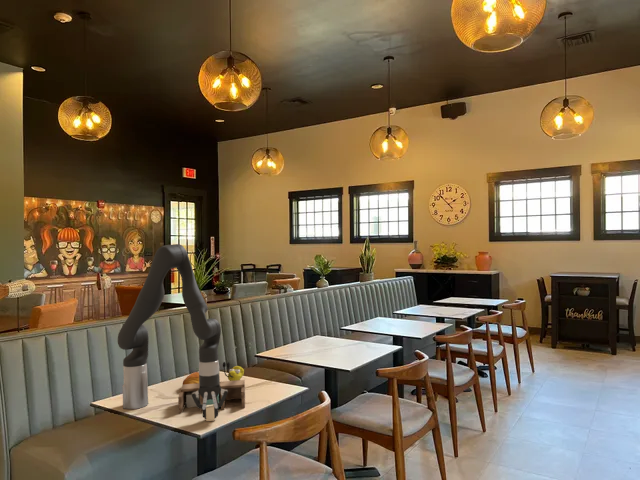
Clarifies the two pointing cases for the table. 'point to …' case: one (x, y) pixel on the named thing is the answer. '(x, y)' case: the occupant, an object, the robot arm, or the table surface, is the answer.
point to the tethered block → (210, 409)
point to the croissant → (192, 378)
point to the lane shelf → (234, 392)
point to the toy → (234, 372)
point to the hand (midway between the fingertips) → (210, 417)
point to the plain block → (191, 399)
